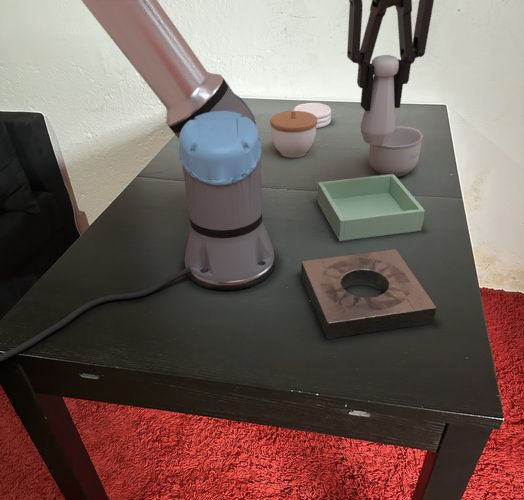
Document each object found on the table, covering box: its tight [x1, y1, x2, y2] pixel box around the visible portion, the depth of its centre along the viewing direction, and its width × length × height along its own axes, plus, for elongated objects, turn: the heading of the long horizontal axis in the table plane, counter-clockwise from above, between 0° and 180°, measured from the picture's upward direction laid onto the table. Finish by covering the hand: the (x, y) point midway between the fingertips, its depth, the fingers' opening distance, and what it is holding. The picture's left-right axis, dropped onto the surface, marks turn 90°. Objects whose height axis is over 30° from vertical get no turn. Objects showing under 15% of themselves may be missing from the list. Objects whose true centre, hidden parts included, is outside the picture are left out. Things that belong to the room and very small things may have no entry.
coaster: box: [292, 102, 332, 129], centre depth 137 cm, size 10×10×4 cm
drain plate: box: [300, 248, 437, 340], centre depth 81 cm, size 16×16×3 cm
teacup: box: [368, 125, 424, 178], centre depth 113 cm, size 14×11×8 cm
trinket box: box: [269, 110, 318, 159], centre depth 121 cm, size 11×11×9 cm
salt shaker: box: [360, 54, 399, 146], centre depth 86 cm, size 6×6×13 cm
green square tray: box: [316, 174, 426, 242], centre depth 100 cm, size 16×16×4 cm
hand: (380, 106), depth 86 cm, fingers closed on salt shaker, 4 cm apart
